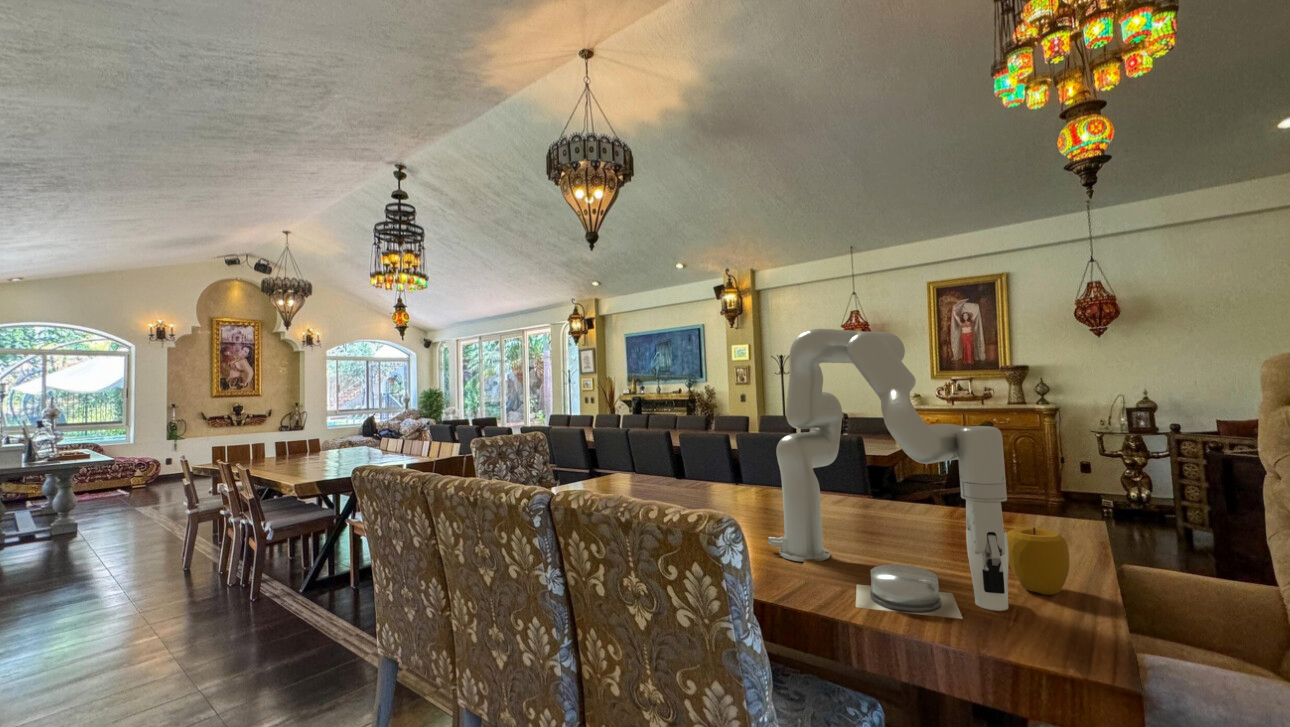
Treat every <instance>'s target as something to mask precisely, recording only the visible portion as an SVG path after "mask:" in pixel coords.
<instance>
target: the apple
mask: <svg viewBox="0 0 1290 727" xmlns="http://www.w3.org/2000/svg"><path fill="white" fill-rule="evenodd" d="M1006 532H1007V538H1008V548H1009V567H1010V568H1011V571H1012V572H1013V575H1014V576H1015V577H1016V580H1017V581H1018V582H1019V584H1021V586H1022V588H1024V589H1026V590H1027V591H1030V592H1033V593H1034V592H1035V593H1038V594H1040V595H1044V596H1045V595H1046V596H1048V595H1049V596H1052V595H1056V594H1059V593H1060V592H1061V590H1062V588H1063V587H1064V585H1065V583H1066V580H1067V578H1068V575H1069V571H1070V551H1069V547H1068V543H1067V542H1066V539H1065V537H1064V536H1062V535H1061V534H1060V533H1058V532H1056V531H1052V530H1050V529H1046V528H1040V527H1036V526H1035V527H1034V526H1020V527H1016V528H1014V529H1012V530H1009V531H1006Z"/></svg>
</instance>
